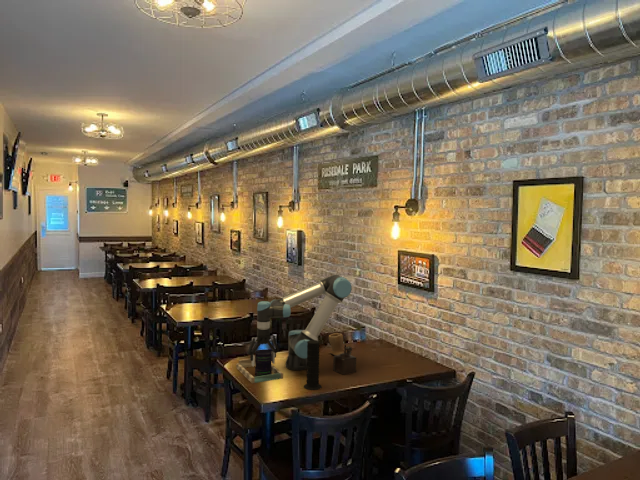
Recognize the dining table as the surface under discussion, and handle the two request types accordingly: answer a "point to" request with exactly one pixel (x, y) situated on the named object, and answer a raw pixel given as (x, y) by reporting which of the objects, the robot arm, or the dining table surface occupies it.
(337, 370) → the dark boxy piece
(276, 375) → the shallow rimmed tray
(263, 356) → the storage jar
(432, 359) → the dining table surface
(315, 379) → the handle grip
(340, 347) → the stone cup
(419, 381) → the dining table surface
